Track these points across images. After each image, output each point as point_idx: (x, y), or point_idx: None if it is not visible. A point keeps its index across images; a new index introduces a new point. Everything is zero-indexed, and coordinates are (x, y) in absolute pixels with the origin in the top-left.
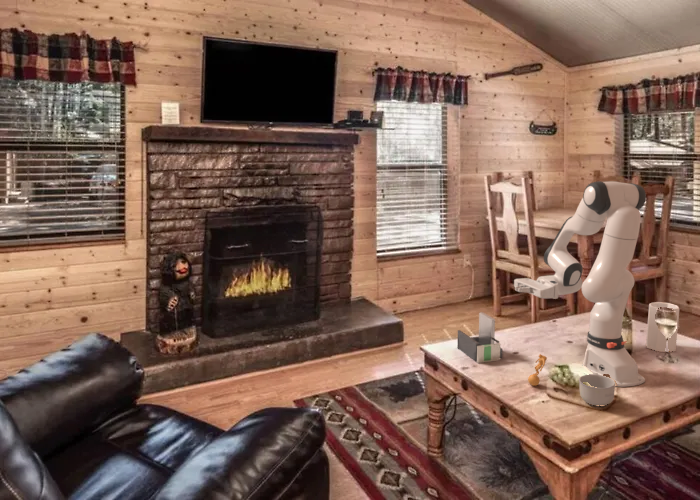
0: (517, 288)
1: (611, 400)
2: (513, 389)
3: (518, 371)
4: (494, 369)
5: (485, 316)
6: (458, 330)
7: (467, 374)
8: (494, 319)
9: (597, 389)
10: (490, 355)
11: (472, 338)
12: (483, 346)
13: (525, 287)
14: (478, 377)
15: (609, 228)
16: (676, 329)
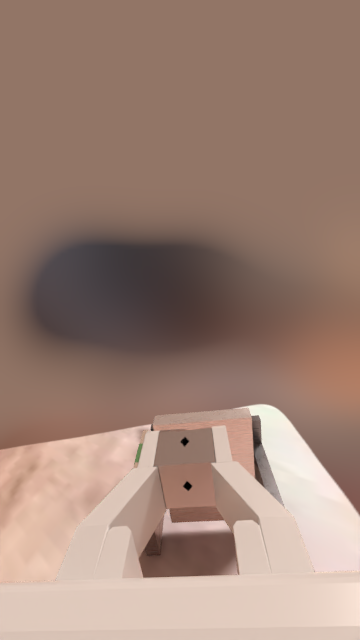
0: (180, 433)
1: None
2: (6, 477)
3: (42, 548)
4: (100, 487)
5: (200, 414)
6: (256, 416)
7: (117, 430)
8: (153, 425)
9: None
10: None
11: (261, 476)
12: (140, 443)
13: (118, 502)
14: (95, 441)
15: None
16: None
